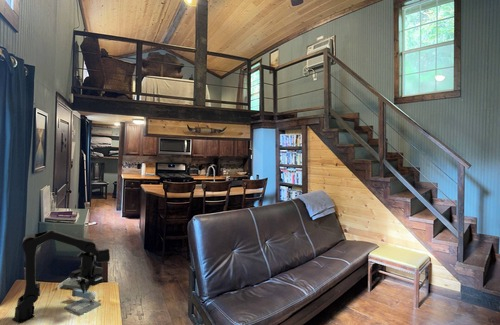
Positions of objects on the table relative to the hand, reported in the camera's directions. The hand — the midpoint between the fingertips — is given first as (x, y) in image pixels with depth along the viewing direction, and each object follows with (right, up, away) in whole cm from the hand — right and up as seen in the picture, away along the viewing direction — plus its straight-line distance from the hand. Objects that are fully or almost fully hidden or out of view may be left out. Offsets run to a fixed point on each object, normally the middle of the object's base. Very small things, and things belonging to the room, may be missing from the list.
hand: (84, 293), depth 150 cm
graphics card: (-17, -6, +21) cm, 28 cm away
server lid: (-1, -7, 0) cm, 7 cm away
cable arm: (-4, -5, +5) cm, 8 cm away
